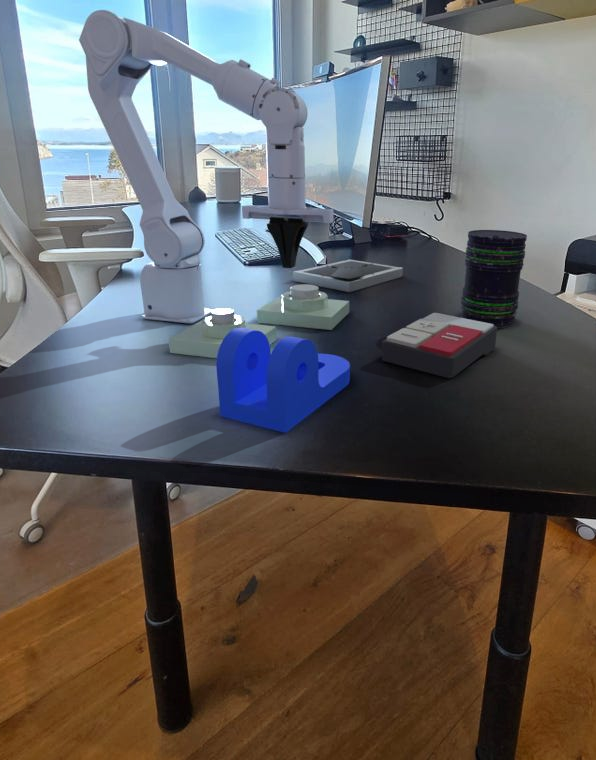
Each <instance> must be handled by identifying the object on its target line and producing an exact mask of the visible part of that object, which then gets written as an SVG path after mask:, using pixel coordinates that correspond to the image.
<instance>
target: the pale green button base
mask: <svg viewBox="0 0 596 760" xmlns="http://www.w3.org/2000/svg"><path fill="white" fill-rule="evenodd" d="M234 318H235V322H234V323H229V324H214V323H212V317H211V315H208V316H206V317H204V318H202V319H200V320H199V322H198V321H197V322H195V324H194V323H193V325H191V326H189V327H187V328H185V329H183V330H181V331H179V332H178V333H175V334H174V335H172V336H170V337H168V338H167V339H168V340H167V341H168V347H169V348H168V349H169V353H170V354H177V355H185V356H192V357H202V358H209V359H217V355H218V351H219V348H220V345H221V343H222V341H223V339H224V338H225V337H226V335H227V334H228V333H229V332H230V331H232V330H233V329H236V328H246V329H251V330H257V331H260V332H262V333H263V334H264V335H265V336H266V337H267V339H268V341H269V345H270V346H271V345H272V344H273V343H274V342H276V341H277V327H276V326H274V325H265V324H254V323H246V320H245V319H246V318H245V317H244V316H241V315H237V314H234Z"/></svg>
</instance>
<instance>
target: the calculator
mask: <svg viewBox="0 0 596 760" xmlns="http://www.w3.org/2000/svg"><path fill="white" fill-rule="evenodd" d="M497 332H498V328H497V326H494V325H493V324H490V323H485V322H480V321H475V320H470V319H465V318H460V316H455V315H449V314H443V313H439V312H432V313H430V314H429V315H427V316H425V317H423V318H419V319H417V320H415V321H413V322H412V323H410V324H408V325H406V326H405V327H402V328H401V329H399V330H397V331H395V332H393V333H390V334H389V335H388V336H386V338H385V339H383V340H382V341H381V342H382V343H381V360H382V362H386V363H390V364H393V365H396V366H400V367H404V368H408V369H411V370H414V371H415V370H416V371H419V372H424V373H427V374H431V375H434V376H439V377H442V378H446V379H453V378H455V376H457V375H458V374H459V373H461V372H462V371H463V370H464V369H466V368H467V367H469V366H470V365H471V364H473V363H474V362H475V361H477V360H478V359H479V358H481V356H484V357H486V356H487V355H489V354H490V353H492V351H494V350H495V349H496V343H497V334H498V333H497Z"/></svg>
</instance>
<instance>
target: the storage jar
mask: <svg viewBox="0 0 596 760" xmlns="http://www.w3.org/2000/svg"><path fill="white" fill-rule="evenodd" d="M467 238H468V240H467V242H466V248H465V260H464V262H465V263H464V265H465V277H464V286H463V287H462V293H461V299H460V310H461V313H460V316H459V317H460V318H465V319H470V320H475V321H480V322H485V323H490V324H493V325H494V326H497V329H502V328H503V329H505V328H509V327H512V326H514V325H515V324H516V315H517V310H518V308H519V297H520V291H519V288H520V287H519V286H520V280H521V272H522V270H523V267H524V259H525V257H526V251H525V250H526V242H527V238H528V235H527V234H526V233H522V232H517V231H509V230H500V229H475V230H474V229H473V230H470V231H469V230H468V232H467Z"/></svg>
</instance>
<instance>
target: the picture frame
mask: <svg viewBox="0 0 596 760" xmlns="http://www.w3.org/2000/svg"><path fill="white" fill-rule="evenodd" d="M403 273H404V267H401V266H400V267H399V266H393V265H387V264H380V263H373V262H367V261H362V260H355V259H346V260H341V261H335V262H331V263H326V264H323V265H317V266H314V267H309V268H304V269H300V270H294V271H292V281H293V282H296V283H301V284H307V285H315V286H317V287H321V288H326V289H330V290H336V291H341V292H345V293H351V292H355V291H359V290H362V289H365V288H369V287H372V286H376V285H379V284H383V283H386V282H389V281H393V280H396V279H401V278H403Z"/></svg>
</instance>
